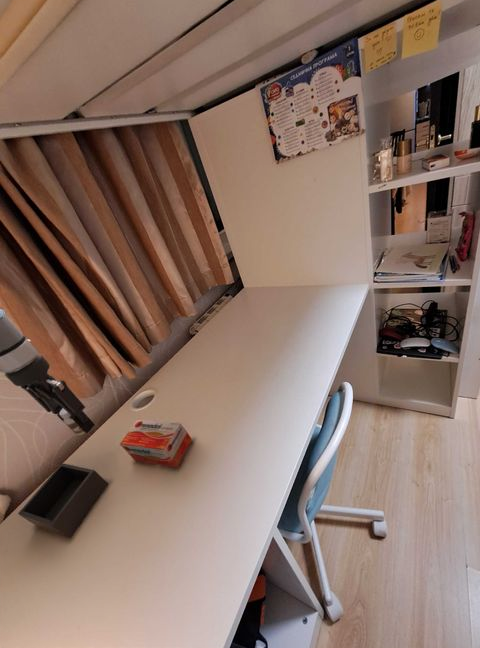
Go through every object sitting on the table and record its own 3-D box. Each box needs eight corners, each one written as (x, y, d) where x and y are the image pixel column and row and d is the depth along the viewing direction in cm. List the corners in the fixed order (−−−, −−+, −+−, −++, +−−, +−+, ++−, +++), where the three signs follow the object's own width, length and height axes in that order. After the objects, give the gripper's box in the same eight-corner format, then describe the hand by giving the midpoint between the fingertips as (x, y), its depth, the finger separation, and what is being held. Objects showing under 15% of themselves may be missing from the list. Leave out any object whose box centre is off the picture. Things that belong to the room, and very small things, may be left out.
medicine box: (193, 440, 79) (181, 421, 74) (179, 468, 72) (164, 450, 68) (150, 436, 84) (136, 418, 80) (133, 462, 78) (117, 444, 74)
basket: (36, 525, 70) (17, 513, 67) (76, 475, 80) (61, 462, 76) (70, 538, 65) (51, 526, 62) (108, 483, 75) (94, 469, 71)
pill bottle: (77, 438, 74) (58, 419, 70) (74, 430, 78) (55, 411, 73) (94, 427, 76) (76, 407, 72) (90, 419, 80) (73, 400, 75)
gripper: (60, 351, 64) (116, 419, 76) (14, 352, 70) (73, 413, 83) (30, 375, 58) (96, 444, 71) (-17, 373, 65) (51, 436, 78)
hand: (83, 427), depth 77 cm, fingers closed on pill bottle, 4 cm apart
